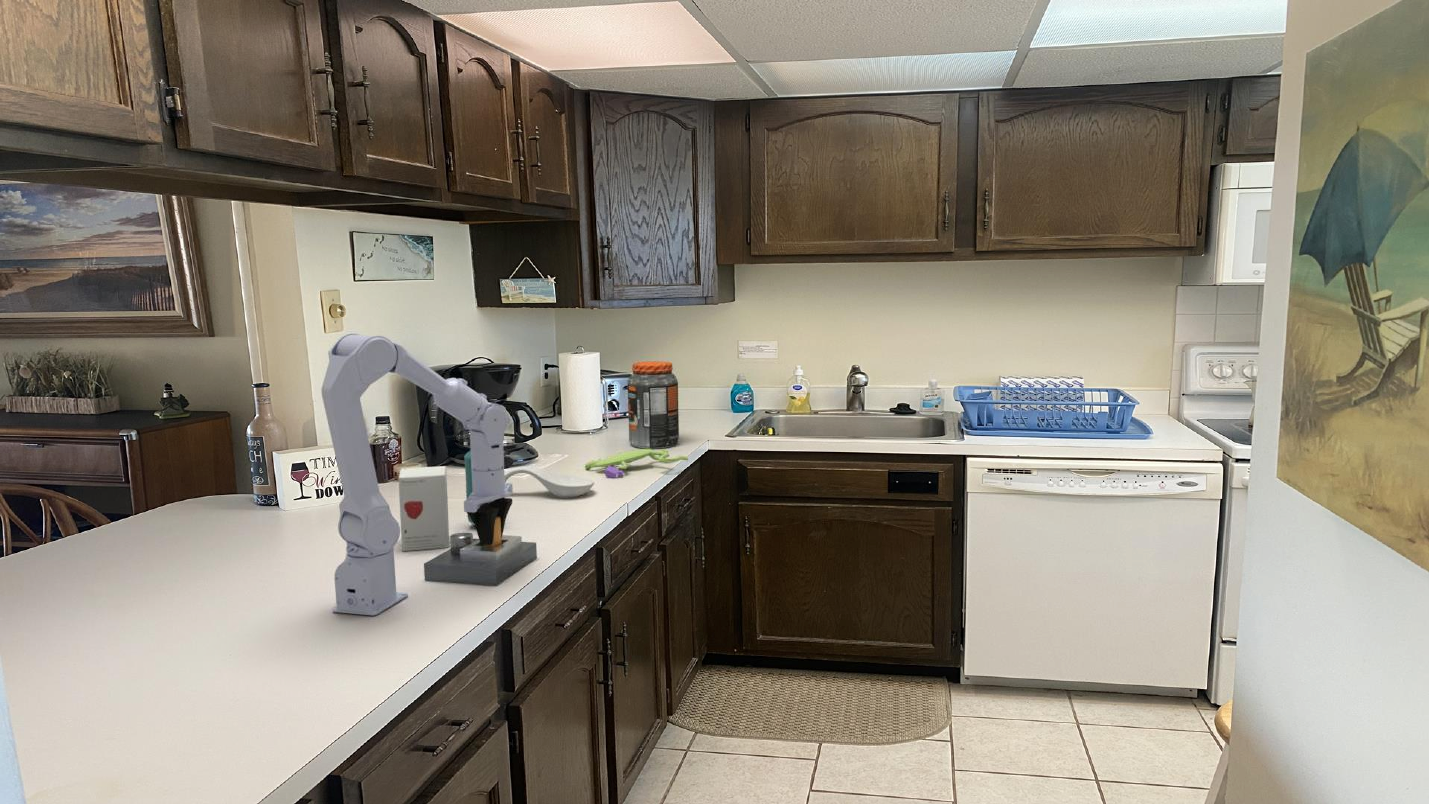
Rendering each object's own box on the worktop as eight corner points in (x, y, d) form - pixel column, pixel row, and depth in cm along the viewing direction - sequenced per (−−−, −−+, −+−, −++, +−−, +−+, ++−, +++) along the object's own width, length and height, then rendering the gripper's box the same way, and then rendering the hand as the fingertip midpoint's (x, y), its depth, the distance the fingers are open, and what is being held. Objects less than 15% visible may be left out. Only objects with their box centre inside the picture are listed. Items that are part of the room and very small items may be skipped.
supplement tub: (631, 440, 295) (629, 360, 291) (680, 440, 295) (678, 360, 291) (626, 450, 279) (624, 365, 275) (677, 449, 279) (676, 365, 275)
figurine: (691, 475, 245) (691, 454, 244) (592, 482, 238) (592, 461, 237) (675, 461, 263) (675, 442, 262) (582, 468, 255) (582, 448, 255)
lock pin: (496, 558, 164) (494, 521, 163) (481, 557, 165) (480, 519, 164) (505, 554, 167) (503, 516, 166) (491, 552, 168) (489, 515, 167)
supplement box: (401, 552, 178) (396, 477, 176) (403, 539, 186) (399, 467, 184) (449, 548, 180) (445, 473, 178) (450, 535, 189) (446, 464, 187)
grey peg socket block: (496, 585, 158) (495, 552, 157) (424, 580, 161) (422, 547, 160) (536, 557, 173) (535, 527, 172) (470, 553, 176) (468, 523, 176)
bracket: (496, 563, 161) (495, 552, 160) (460, 560, 162) (460, 549, 162) (521, 546, 170) (521, 536, 170) (487, 544, 172) (487, 534, 172)
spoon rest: (596, 489, 229) (595, 461, 228) (591, 501, 217) (591, 471, 216) (502, 491, 228) (500, 463, 227) (492, 503, 217) (490, 473, 216)
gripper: (488, 477, 156) (492, 554, 158) (526, 460, 170) (529, 531, 172) (451, 475, 158) (455, 551, 160) (491, 459, 172) (495, 529, 174)
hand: (491, 541), depth 166 cm, fingers closed on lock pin, 3 cm apart
